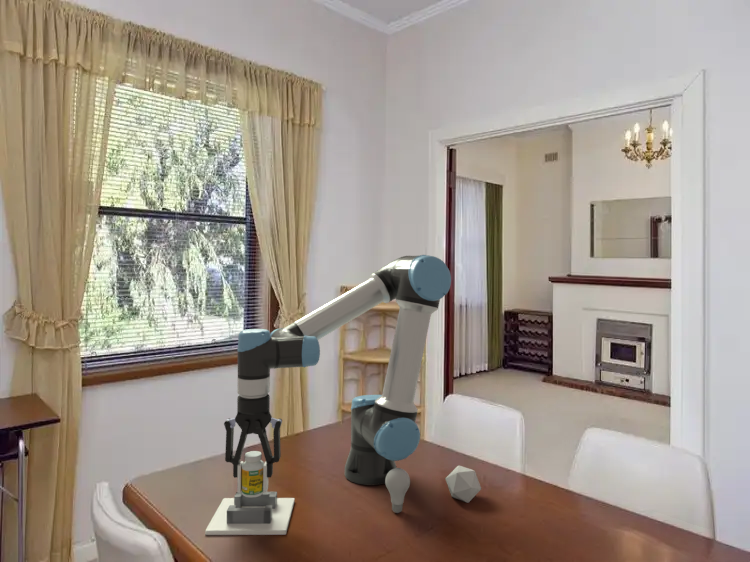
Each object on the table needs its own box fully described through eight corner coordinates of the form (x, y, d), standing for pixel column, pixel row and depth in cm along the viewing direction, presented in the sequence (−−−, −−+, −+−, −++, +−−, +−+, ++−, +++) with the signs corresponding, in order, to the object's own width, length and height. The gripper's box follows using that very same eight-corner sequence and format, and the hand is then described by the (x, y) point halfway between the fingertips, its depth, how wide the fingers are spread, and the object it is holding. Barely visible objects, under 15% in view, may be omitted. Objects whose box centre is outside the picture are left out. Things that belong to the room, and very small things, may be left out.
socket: (294, 501, 132) (294, 486, 132) (285, 534, 116) (285, 517, 116) (223, 501, 131) (223, 486, 131) (205, 534, 115) (205, 517, 115)
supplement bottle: (258, 486, 127) (258, 448, 127) (268, 494, 123) (268, 454, 123) (237, 492, 124) (238, 452, 123) (247, 500, 120) (247, 459, 119)
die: (486, 501, 135) (476, 464, 140) (480, 496, 128) (469, 458, 134) (456, 508, 137) (447, 471, 142) (449, 504, 130) (439, 466, 135)
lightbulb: (392, 521, 123) (393, 475, 122) (380, 510, 128) (381, 466, 128) (414, 515, 125) (414, 471, 125) (401, 505, 131) (402, 462, 130)
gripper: (294, 390, 127) (293, 483, 127) (219, 390, 126) (218, 483, 127) (290, 398, 119) (289, 497, 120) (210, 398, 118) (209, 497, 119)
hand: (253, 489), depth 123 cm, fingers closed on supplement bottle, 5 cm apart
